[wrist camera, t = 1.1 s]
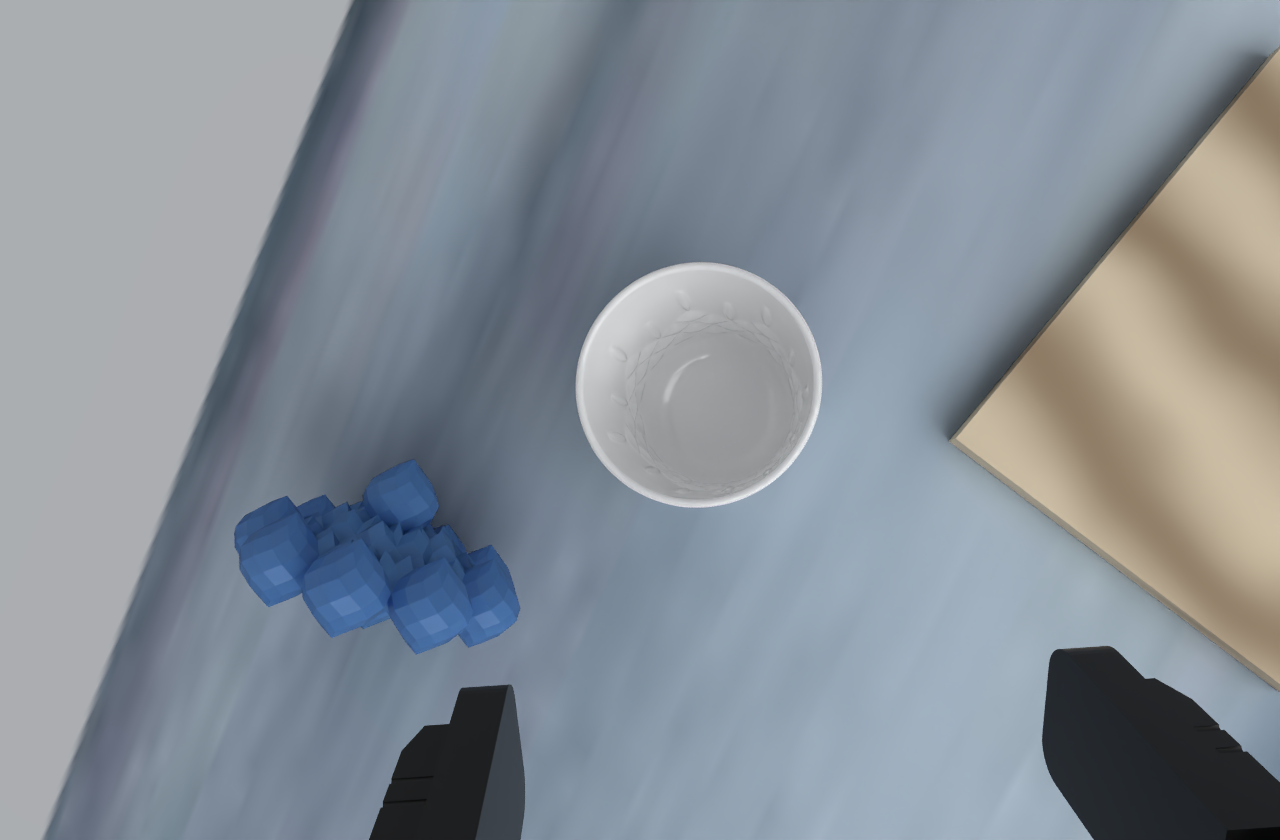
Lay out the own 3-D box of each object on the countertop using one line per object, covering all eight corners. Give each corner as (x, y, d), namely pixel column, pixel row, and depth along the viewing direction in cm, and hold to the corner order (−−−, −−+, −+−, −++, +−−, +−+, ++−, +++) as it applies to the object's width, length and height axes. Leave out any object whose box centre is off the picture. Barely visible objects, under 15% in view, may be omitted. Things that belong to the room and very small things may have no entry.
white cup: (680, 297, 37) (640, 224, 28) (845, 370, 36) (865, 321, 26) (602, 457, 37) (534, 441, 28) (764, 537, 36) (754, 551, 26)
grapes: (591, 501, 37) (499, 501, 25) (549, 650, 37) (435, 720, 25) (359, 431, 40) (176, 402, 28) (317, 571, 39) (114, 602, 27)
